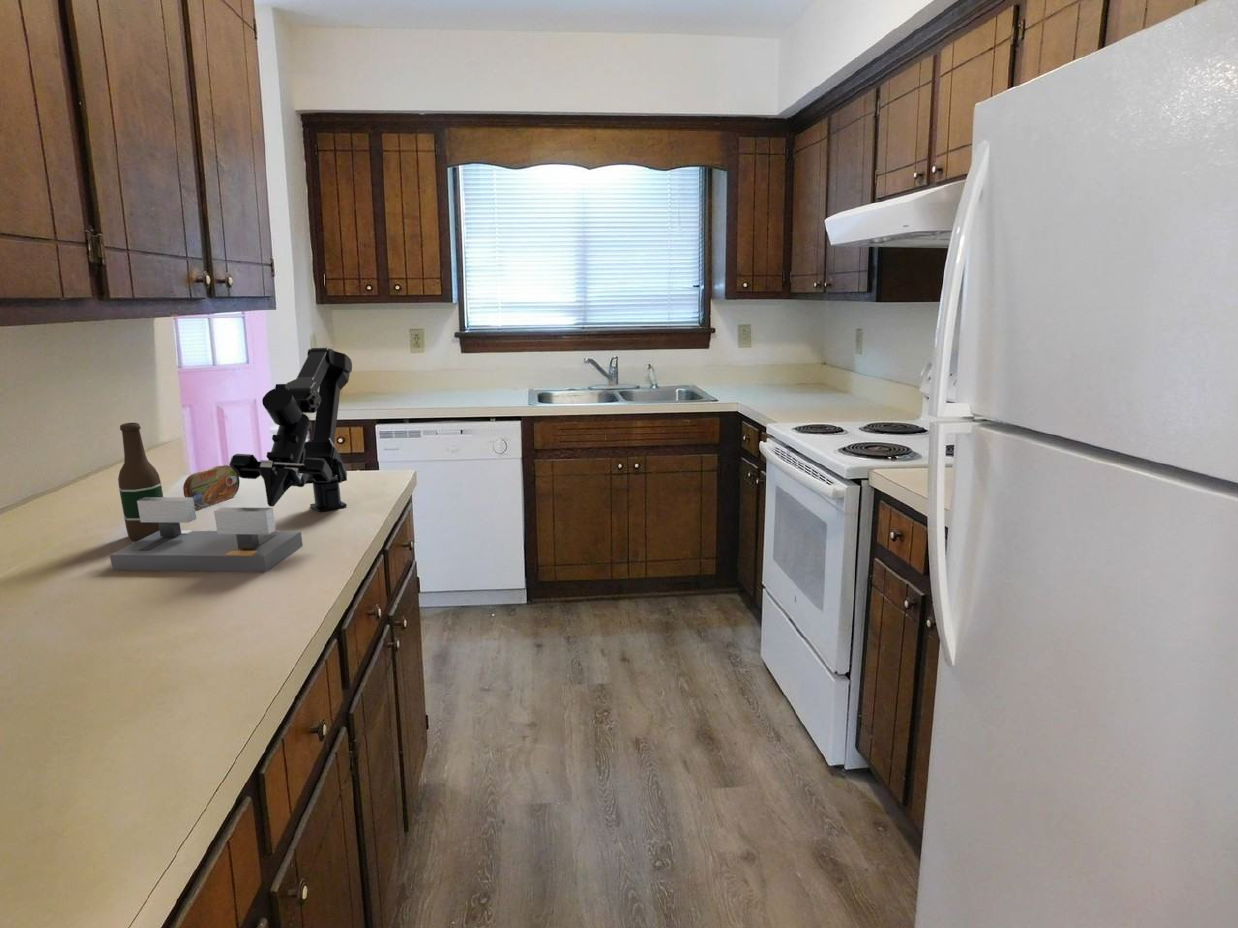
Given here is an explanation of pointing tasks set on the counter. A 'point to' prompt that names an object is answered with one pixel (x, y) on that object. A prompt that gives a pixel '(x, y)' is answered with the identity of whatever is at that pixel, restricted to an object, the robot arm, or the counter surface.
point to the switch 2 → (245, 524)
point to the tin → (212, 486)
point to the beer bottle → (136, 482)
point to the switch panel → (205, 552)
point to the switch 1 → (167, 513)
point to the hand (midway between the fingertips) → (270, 505)
